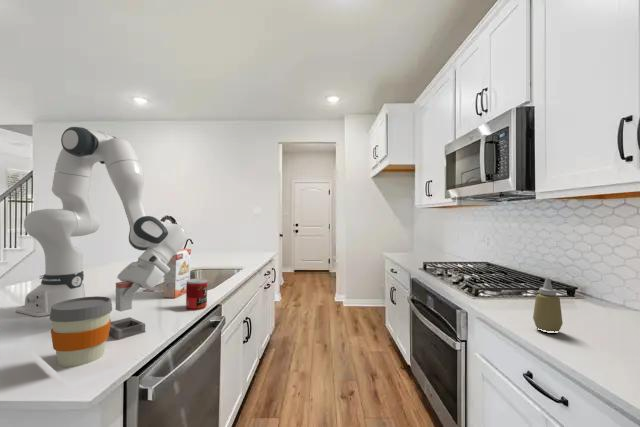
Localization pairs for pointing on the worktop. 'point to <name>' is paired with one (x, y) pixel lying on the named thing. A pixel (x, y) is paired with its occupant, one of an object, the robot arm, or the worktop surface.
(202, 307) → the canned food
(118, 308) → the steel peg
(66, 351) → the reusable coffee cup
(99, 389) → the worktop surface
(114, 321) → the rubber pad
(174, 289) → the cracker box
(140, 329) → the square open tray
